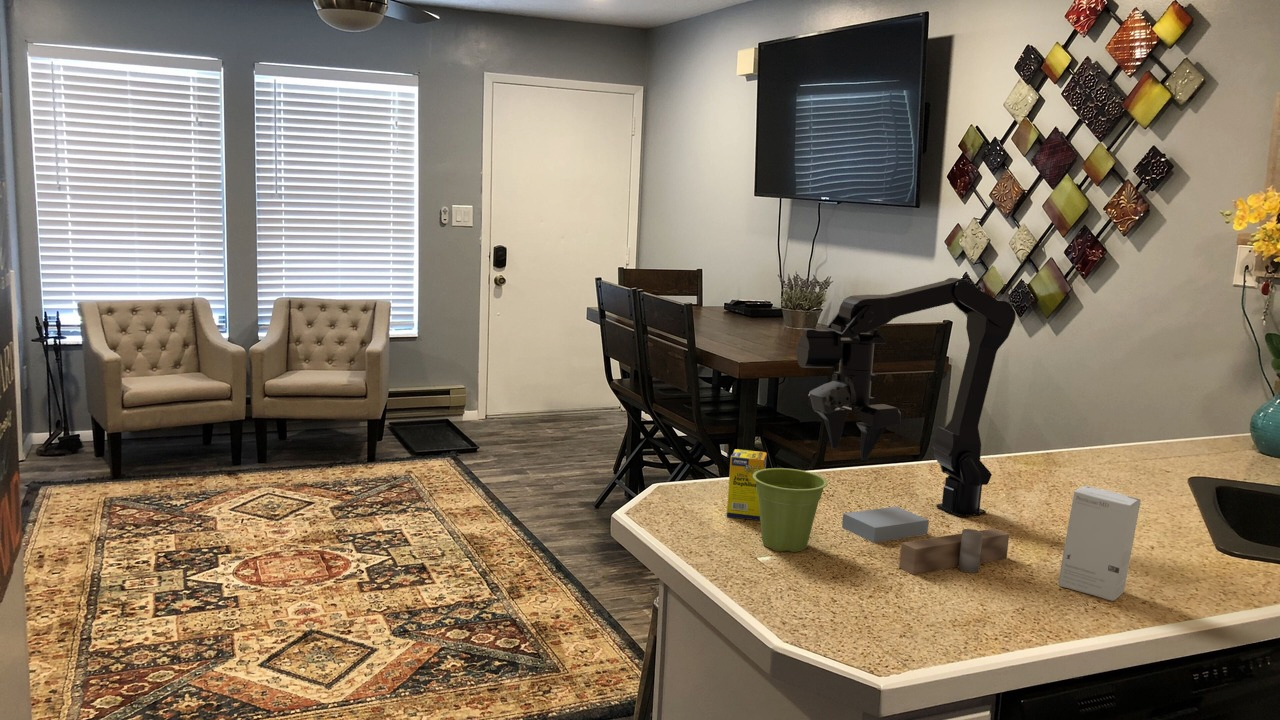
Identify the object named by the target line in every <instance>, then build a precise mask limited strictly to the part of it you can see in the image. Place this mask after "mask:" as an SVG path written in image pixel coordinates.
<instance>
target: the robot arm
mask: <svg viewBox="0 0 1280 720" xmlns="http://www.w3.org/2000/svg"><path fill="white" fill-rule="evenodd" d="M949 304H953V305H954V306H955V307H956V308H957V309H958V310H959V311H961V312H962V313H964V314H965V315H966V326H965V327H966V333H967V338H968V342H969V344H968V345H969V346H968V351H967V354H966V358H965V362H964V367H963V370H962V374H961V378H960V384H959V386H958V391H957V394H956V398H955V402H954V403H955V404H954V408H953V412H952V415H951V419H950V421H949V422H948V423H947V424H946V426H945V427H941V426H937V428H936V429H935V430H936V431H935V439H934V441H933V444H931V448H933V449H934V450H933V455H934V458H935V460H936V462H937V463H938V464H939V465H940V470H941V472H942V473H943V474H946V475H947V477H945V480H944V486H943V490H942V491H943V492H942V499H941V503H937V504H936V505H935V507H936V508H938V509H940V510H943V511H946V512H948V513H950V514H953V515H955V516H957V517H961V518H962V517H970V516H971V517H972V516H977V515H984V514H987V511H986V509H982V508H980V507H981V498H982V490H983V486H985V485H987V486H988V485H989V482H990V480H991V477H992V473H991V471H990V470H989V469H988V468H987V467H986V465H985V464H984V463H983V462H982V461H981V455H982V440H981V435H980V429H979V425H980V420H981V416H982V412H983V410H984V404H985V400H986V396H987V392H988V390H989V389H988V388H989V384H990V381H991V376H992V372H993V368H994V364H995V360H996V356H997V353H998V351H999V349H1000V348H1001V347H1002V345H1003V344H1004V343H1005V341H1007V339H1008V338H1009V336H1010V334H1011V332H1012V329H1013V327H1014V325H1015V322H1016V317H1017V314H1016V312H1017V311H1016V310H1015V309H1014V307H1013V305H1012V304H1011V303H1009V302H1008V301H1005V300H1002V299H996V298H995V297H993V296H991V295H990V294H988V293H986V292H985V291H983V290H980V289H979V288H977V287H976V286H974V285H973V284H972V283H970V281H968V280H966V279H963V278H957V277H948V278H947V279H945V280H941V281H937V282H934V283H930V284H924V285H921V286H917V287H913V288H909V289H905V290H901V291H896V292H892V293H889V294H859V295H858V294H857V295H855V294H854V295H850V296H848V297H847V296H846V297H845V298H843V301H842V303H841V304H840V305H839V308H838V312H837V313H836V315H835V316H834V317H833V318H832V319H831V321H830V322H829V324H827V326H826V327H825V329H814V328H809V327H804V328H803V329H802V335H801V336H800V337H799V340H798V344H797V345H796V351H795V352H796V353H795V354H796V360H797V363H798V365H799V367H800V368H813V369H814V368H815V369H817V368H818V369H819V368H825V369H826V368H827V369H828V368H829V369H832V368H834V367H836V365H838V366H839V367H838V371H833V374H832V375H831V376H832V377H831V381H829V382H827V383H823V384H822V385H819V386H818V387H815V388H813V389H811V390H810V391H809V394H808V395H807V406H809V407H812V410H813V411H814V412H815V413H817V414H818V415H819V416H820V417H821V418H822V419H823V422H824V425H825V428H826V431H827V434H828V440H829V444H830V447H831V449H833V450H835V449H836V450H837V449H838V448H839V445H840V441H841V439H842V435H843V431H844V427H845V423H846V419H847V416H848V413H849V412H851V413H854V414H858V415H859V419H860V421H858V422H855V424H856V426H857V428H858V429H859V430H860V459H861V460H867V459H868V458H869V456H870V455H871V453H872V451H873V450H874V448H875V446H876V445H877V443H878V441H879V440H880V439H881V436H882V435H883V434H884V433H885V432H886V430H887V429H888V428H891V427H892V426H895V425H900V424H901V416H902V415H901V414H902V413H901V411H900V409H899V408H898V407H896V406H891V405H888V404H884V403H880V404H879V403H878V404H875V402H876V397H872V396H871V389H872V382H873V381H874V382H877V378H878V377H877V376H878V375H877V374H874V373H873V365H874V364H873V362H874V351H875V344H876V345H878V344H880V345H882V344H884V345H885V344H887V339H885V337H883V335H881V333H880V330H879V328H880V327H883V326H886V325H887V324H888V323H890V322H891V321H893V320H894V319H896V318H898V317H901V316H904V315H908V314H913V313H917V312H921V311H924V310H930V309H932V308H937V307H941V306H945V305H949Z"/></svg>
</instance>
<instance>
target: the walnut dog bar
mask: <svg viewBox="0 0 1280 720" xmlns="http://www.w3.org/2000/svg"><path fill="white" fill-rule="evenodd" d="M1009 539H1010V534H1009V533H1007V532H1005V531H1003V530H1000V529H997V528H988V529H982V530H978V529H977V530H976V529H973V528H972V529H971V528H965V529H962V531H961V533H956V534H949V535H944V536H937V537H930V538H923V539H916V540H911V541H905V542H901V544H900V545H901V547H900V556H899V557H900V558H899V565H898V568H899V569H901V570H903V571H905V572H907V573H909V574H911V575H917V574H924V573H929V572H935V571H941V570H947V569H952V568H957V569H958V570H959V571H961V572H965V573H968V574H975V573H979V569H980V563H981V564H982V563H987V562H991V561H998V560H1002V559H1004V560H1005V559H1007V558H1008V549H1009V541H1010V540H1009Z"/></svg>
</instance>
